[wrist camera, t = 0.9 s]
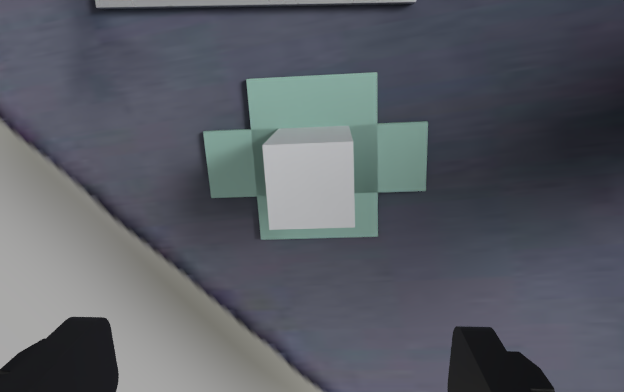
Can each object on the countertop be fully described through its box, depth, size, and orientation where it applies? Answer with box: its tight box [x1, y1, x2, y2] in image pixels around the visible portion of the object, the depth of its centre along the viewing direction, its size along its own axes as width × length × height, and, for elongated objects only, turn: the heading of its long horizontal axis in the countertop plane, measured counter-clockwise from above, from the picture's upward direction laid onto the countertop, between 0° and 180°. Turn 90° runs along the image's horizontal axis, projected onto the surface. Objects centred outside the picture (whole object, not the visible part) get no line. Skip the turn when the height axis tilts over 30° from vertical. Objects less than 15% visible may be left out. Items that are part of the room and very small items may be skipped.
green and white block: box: [203, 72, 428, 240], centre depth 27 cm, size 16×12×8 cm
